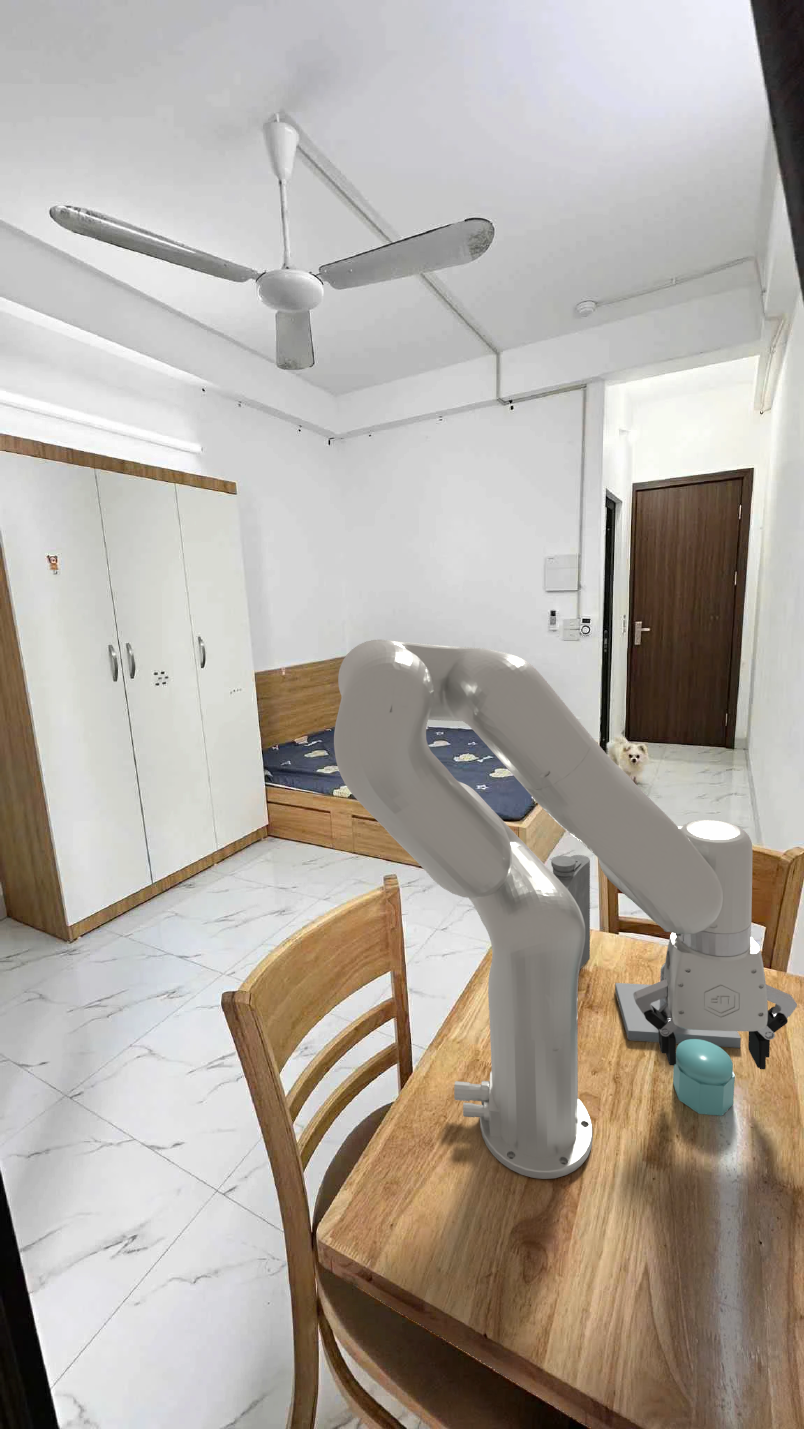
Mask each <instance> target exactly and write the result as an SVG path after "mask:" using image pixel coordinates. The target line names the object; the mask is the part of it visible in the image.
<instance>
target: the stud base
mask: <svg viewBox="0 0 804 1429" xmlns="http://www.w3.org/2000/svg"><path fill="white" fill-rule="evenodd" d="M650 985H651V984H646V983H645V984H644V983H628V982H627V983H625V982H624V983H623V982H615V983H614V986H615V988H614V991H615V992H614V993H615V995H616V999H617V1000H616V1001H617V1003H618V1007H619V1010H620V1015H621V1017H622V1022H623V1026H624V1030H625V1033H626V1037H627V1040H628V1041H636V1042H637V1041H638V1042H649V1043H659V1032H658V1029H657V1028H656V1027H654V1026H653V1025H652V1024H651V1023H650V1022H648V1021H647V1020H646V1018H645V1016H644V1014H643V1013H642V1012H641V1010H640V1009H639V1007H638V1006H637V1004H636V1002H635V999H634V995H633V994H634V992H636V991H638V990H641V989H643V988H646V987H648V986H650ZM651 1005H652V1006H653V1007H654V1008H656V1009H657V1010H659V1009H660V1000H657V1001H655V1002H652V1003H651ZM673 1032H674V1035H675V1038H676V1045H677V1044H678V1045H679V1044H680V1043H681V1042H682V1041H685V1040H689V1039H700V1040H704V1041H708V1042H711V1043H713V1044H715V1045H717V1046H718V1047H720V1048H721V1047H723V1048H733V1049H734V1048H735V1049H736V1048H737V1049H741V1045H742V1044H741V1041H742V1038H741V1036H740V1034H739V1031H713V1030H690V1029H684V1028H680V1027H678V1028H677V1029H675V1030H674V1031H673Z"/></svg>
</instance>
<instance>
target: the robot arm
mask: <svg viewBox="0 0 804 1429" xmlns="http://www.w3.org/2000/svg"><path fill="white" fill-rule="evenodd" d="M337 678H338V679H337V680H338V689H339V693H340V695H341V699H340V703H339V706H338V707H339V708H338V712H337V716H336V721H335V725H334V733H333V747H334V756H335V757H334V758H335V761H336V765H337V769H338V771H339V775H340V776H341V778H342V781H343V783H344V785H345V786H346V788H347V789H348V791H349V792H350V793H351V794H352V795H353V797H354V798H355V799H356V800H357V801H358V802H359V804H360V805H361V806H362V807H363V808H364V809H365V810H366V811H367V812H368V813H369V814H370V815H371V816H372V817H373V818H374V819H375V820H376V821H377V822H378V823H379V824H380V826H381V827H383V828H384V829H385V831H386V832H387V833H388V834H389V835H390V836H391V837H392V838H393V840H395V841H396V842H397V844H399V846H401V847H402V848H403V850H405V851H406V853H408V854H409V855H410V856H411V857H412V858H413V860H414V861H416V862H417V863H418V865H419V866H421V868H422V869H423V870H424V871H425V872H426V874H428V876H429V877H430V878H431V879H432V881H434V882H435V883H436V884H437V885H439V886H440V887H441V888H443V889H444V890H446V891H447V892H448V893H451V894H452V895H455V896H458V897H462V898H466V899H467V898H468V899H469V900H470V902H471V904H472V905H473V907H474V909H475V911H476V912H477V914H478V915H479V918H480V920H481V922H482V924H483V926H484V928H485V929H486V932H487V934H488V936H489V940H490V945H491V951H492V952H491V953H492V955H491V957H492V958H491V963H490V968H489V973H488V982H487V983H488V985H487V986H488V987H487V988H488V989H487V991H488V992H487V994H488V995H487V996H488V998H487V999H488V1010H489V1012H488V1013H489V1035H490V1036H489V1038H490V1041H489V1042H490V1066H491V1071H490V1072H489V1080H481V1084H480V1083H470V1082H469V1081H468V1082H467V1081H459V1080H458V1081H457V1080H455V1081H454V1089H453V1090H454V1095H453V1096H454V1101H460V1102H461V1101H463V1105H462V1106H463V1107H462V1117H466V1118H479V1125H480V1132H481V1136H482V1139H483V1141H484V1143H485V1146H486V1147H487V1148H488V1151H490V1153H491V1154H492V1156H494V1158H495V1159H497V1161H499V1162H500V1164H502V1165H504V1167H506V1168H508V1170H511V1171H513V1172H515V1173H517V1174H519V1175H522V1176H526V1177H528V1178H529V1177H530V1178H534V1179H543V1180H545V1179H546V1180H547V1179H557V1178H560V1177H563V1176H567V1175H569V1174H571V1173H573V1172H576V1170H578V1169H579V1167H581V1166H582V1165H583V1163H584V1162H585V1161H586V1160H587V1159H588V1157H589V1155H590V1152H591V1150H592V1147H593V1140H594V1138H593V1123H592V1120H591V1117H590V1114H589V1112H588V1110H587V1108H586V1106H585V1105H584V1103H583V1102H582V1101H581V1100H580V1099H579V1094H578V1092H579V1086H578V1084H579V1074H578V1071H579V1070H578V1069H579V1068H578V1067H579V1064H578V1063H579V1062H578V1060H579V1055H578V1052H579V1051H578V1044H579V1042H578V1038H579V1037H578V1036H579V1034H578V1030H579V1028H578V995H579V993H578V992H579V991H578V989H579V987H578V986H579V976H580V970H579V968H580V963H581V958H582V954H583V949H584V944H585V923H584V919H583V916H582V913H581V911H580V908H579V906H578V904H577V903H576V901H575V899H574V898H573V896H572V895H571V893H570V892H569V891H568V890H567V888H566V887H565V886H564V885H563V884H562V883H561V882H560V880H559V879H558V878H557V877H556V876H555V875H554V874H553V871H552V870H551V869H550V868H548V867H547V866H546V865H545V864H544V862H543V861H542V860H541V859H540V858H539V857H538V856H537V855H536V854H535V853H534V852H533V851H532V850H531V849H530V847H529V846H528V845H527V844H526V843H525V842H524V841H523V840H522V839H521V838H520V837H519V836H518V835H517V834H516V833H515V832H514V831H513V830H512V829H511V828H510V827H509V825H508V824H507V823H506V822H505V821H504V820H503V819H502V818H501V817H500V816H499V815H498V814H497V813H496V811H495V810H493V809H492V807H491V806H490V805H489V804H488V803H487V802H486V801H485V799H483V798H482V797H481V795H480V794H479V793H478V792H477V791H475V790H474V789H473V788H472V787H471V786H469V785H467V784H465V783H464V782H461V781H458V780H457V779H456V778H455V777H454V775H453V774H452V773H451V772H450V771H449V769H448V768H447V767H446V766H445V765H444V764H443V763H442V761H440V760H439V758H438V757H437V756H436V755H435V754H434V753H433V752H432V751H431V748H430V746H429V744H428V741H427V726H428V722H429V721H448V722H449V721H452V722H454V721H455V722H463V723H465V724H466V725H468V726H469V727H470V728H471V730H473V731H474V733H475V734H476V735H477V736H478V737H479V738H480V739H481V741H482V742H483V743H484V745H486V746H487V747H488V748H489V750H490V751H491V752H492V753H493V754H494V755H495V756H496V758H497V759H498V760H499V761H500V762H501V764H503V766H505V767H506V768H507V769H508V771H509V772H510V773H511V774H512V776H514V778H515V779H516V780H517V781H518V782H519V783H520V784H521V786H522V787H523V788H524V789H525V791H527V793H528V794H529V795H530V796H531V797H532V798H533V800H534V801H535V802H536V803H537V804H538V805H539V806H540V807H541V808H542V809H543V810H544V811H545V813H546V814H548V815H549V816H550V818H552V819H553V820H554V821H555V822H556V823H557V824H558V825H559V826H560V827H561V828H562V829H563V830H565V831H566V832H567V833H568V834H570V835H571V836H572V837H573V838H574V839H576V840H577V841H579V842H580V843H581V844H582V845H583V846H584V847H585V848H587V850H589V851H590V852H591V853H593V855H594V856H595V857H597V859H598V863H599V865H600V866H599V867H600V868H601V871H602V873H603V874H604V876H605V877H606V878H607V879H608V880H609V882H610V883H612V885H614V886H615V887H616V888H617V889H618V890H619V891H620V892H622V893H623V895H624V896H625V897H626V898H628V899H630V901H632V902H633V903H634V904H635V905H636V906H637V907H638V908H639V909H640V910H642V911H643V913H645V914H646V915H647V916H648V917H649V918H650V919H651V920H652V921H653V922H654V923H655V924H656V925H658V926H659V928H660V927H661V928H662V929H663V931H664V933H665V932H666V933H671V934H670V936H669V940H668V945H667V949H666V955H665V962H664V963H665V971H664V980H662V981H658V982H656V983H652V984H649V985H650V986H648V987H646V988H643V989H641V990H638V991H636V992H634V994H633V995H634V999H635V1002H636V1004H637V1006H638V1007H639V1009H640V1010H641V1012H642V1013H643V1014H644V1016H645V1018H646V1020H647V1021H648V1022H650V1023H651V1024H652V1025H653V1026H654V1027H656V1028H657V1029H658V1032H659V1042H658V1047H659V1050H660V1053H661V1054H665V1056H666V1059H667V1062H668V1065H669V1066H673V1067H674V1066H675V1064H676V1049H677V1044H676V1038H675V1035H674V1032H673V1031H674V1030H675V1029H677V1028H678V1027H680V1028H684V1029H690V1030H713V1031H738V1032H748V1041H747V1042H748V1046H747V1047H748V1048H747V1049H748V1052H749V1053H750V1056H751V1058H752V1060H753V1061H754V1063H755V1065H756V1067H757V1068H758V1069H759V1070H766V1066H767V1065H766V1063H767V1062H766V1060H767V1058H770V1045H771V1044H770V1043H771V1040H773V1039H774V1038H775V1036H776V1032H777V1031H778V1030H780V1029H782V1028H783V1027H784V1026H786V1025H787V1023H788V1022H789V1021H788V1018H789V1017H791V1016H792V1014H793V1013H794V1011H795V1010H796V1008H797V1007H798V1003H797V1001H796V1000H795V999H794V998H793V996H792V995H791V994H789V993H787V992H784V991H783V990H781V989H778V988H775V987H773V986H771V985H769V984H767V983H766V975H765V969H764V962H763V956H762V953H761V949H760V945H759V944H758V943H757V942H756V940H754V938H753V937H752V908H753V907H752V904H753V903H752V902H753V901H752V899H753V887H752V886H753V842H752V840H751V837H750V836H749V833H747V832H746V831H745V830H744V829H742V828H741V827H740V826H738V825H736V824H733V823H730V822H727V821H723V820H722V821H721V820H713V819H699V820H693V821H689V822H687V823H685V824H683V825H677V824H676V823H674V821H673V820H672V819H671V818H670V817H669V816H668V815H667V814H666V813H665V812H664V811H663V810H662V809H661V808H660V807H659V806H658V805H657V804H656V803H655V802H654V801H653V800H652V799H651V798H650V797H649V796H648V795H647V794H646V793H645V792H644V791H643V790H642V789H641V788H640V787H639V786H638V785H637V783H635V782H634V780H633V779H632V778H631V777H630V776H629V775H628V773H626V772H625V771H624V770H623V769H622V768H621V767H620V766H619V765H618V764H617V763H615V761H614V760H613V759H611V757H610V756H609V755H608V754H607V753H606V751H605V750H603V748H602V747H601V746H600V745H599V743H598V742H597V741H596V740H595V739H594V737H593V736H592V735H591V734H590V732H588V730H587V729H586V727H584V725H583V724H582V723H581V722H580V720H578V718H577V717H576V716H575V714H574V712H572V710H570V709H569V707H568V706H567V704H566V703H565V702H564V700H562V698H561V697H560V696H559V695H558V693H557V692H556V691H555V689H553V688H552V686H551V685H550V683H549V682H548V681H547V680H546V679H545V678H544V677H543V675H541V673H540V672H539V671H538V670H537V669H536V668H535V667H534V666H533V665H532V664H531V663H529V662H528V661H527V660H525V659H524V658H521V657H519V656H517V655H514V654H511V653H507V652H504V651H499V650H495V649H491V648H484V647H466V646H465V647H463V646H454V645H453V646H451V645H450V646H449V645H440V644H439V645H437V644H429V643H419V642H408V641H400V640H390V639H389V640H388V639H371V640H367V641H364V642H362V643H359V644H358V645H356V646H354V647H353V648H351V650H350V651H349V652H348V653H347V654H346V656H345V657H344V658H343V660H342V661H341V664H340V666H339V671H338V677H337ZM662 998H665V1001H666V1003H665V1004H664V1005H663V1006H662V1007H661V1008H660V1009H659V1010H657V1009H656V1008H654V1007H653V1006H652V1005H651V1003H652V1002H655V1001H657V1000H660V999H662ZM768 1002H770V1003H772V1004H774V1006H772V1007H771V1008H769V1004H768ZM470 1101H472V1102H473V1101H474V1102H481V1103H480V1104H478V1103H477V1104H475V1103H472V1102H470Z"/></svg>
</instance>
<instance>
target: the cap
mask: <svg viewBox="0 0 804 1429" xmlns="http://www.w3.org/2000/svg"><path fill="white" fill-rule="evenodd" d="M672 1071H673V1073H672V1074H673V1076H672V1083H673V1084H672V1085H673V1086H674V1090H675V1093H676V1097H677V1099H678V1101H679V1102H681V1103H683V1104H684V1105H686V1106H687V1107H688V1108H690V1109H691V1110H693V1111H694V1112H696V1113H697V1114H699V1115H709V1116H717V1117H718V1116H720V1117H721V1116H722V1117H723V1116H724V1115H725V1114H726V1112H728V1111H729V1109H730V1108H731V1107H732V1106H733V1105H734V1099H735V1098H734V1097H735V1078H736V1074H735V1073H734V1063H733V1060H732V1058H731V1057H730V1055H729V1054H728V1052H726V1051H725V1050H724V1049H723V1048H721V1047H720V1046H717V1045H715V1044H713V1043H711V1042H708V1041H704V1040H700V1039H689V1040H685V1041H682V1042H681V1043H680V1044H678V1045H676V1064H675V1066H673V1070H672Z"/></svg>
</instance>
